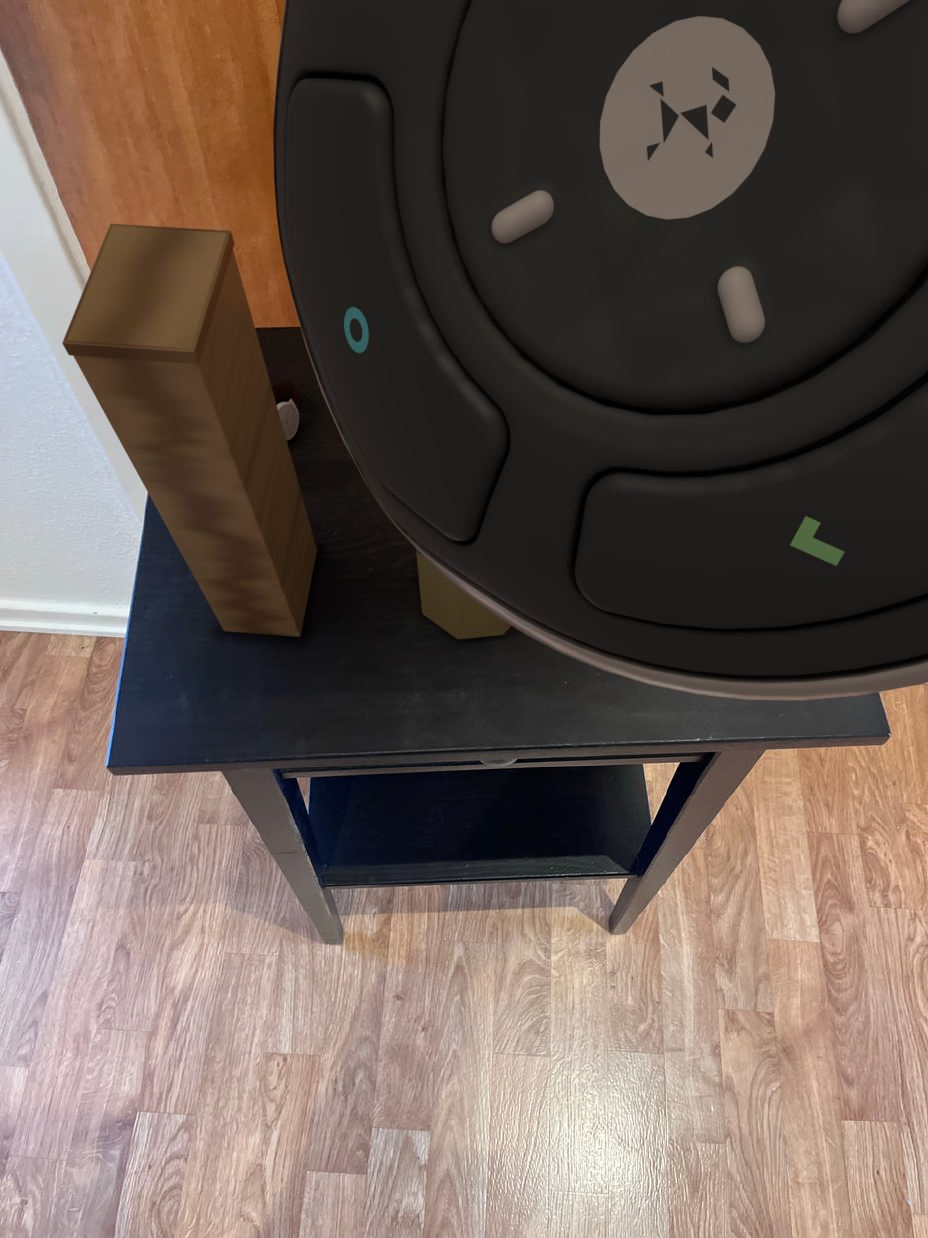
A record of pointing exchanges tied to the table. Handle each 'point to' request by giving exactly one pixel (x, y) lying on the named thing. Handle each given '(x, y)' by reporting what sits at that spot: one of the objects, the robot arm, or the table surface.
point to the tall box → (198, 417)
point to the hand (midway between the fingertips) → (797, 364)
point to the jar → (454, 606)
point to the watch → (288, 406)
